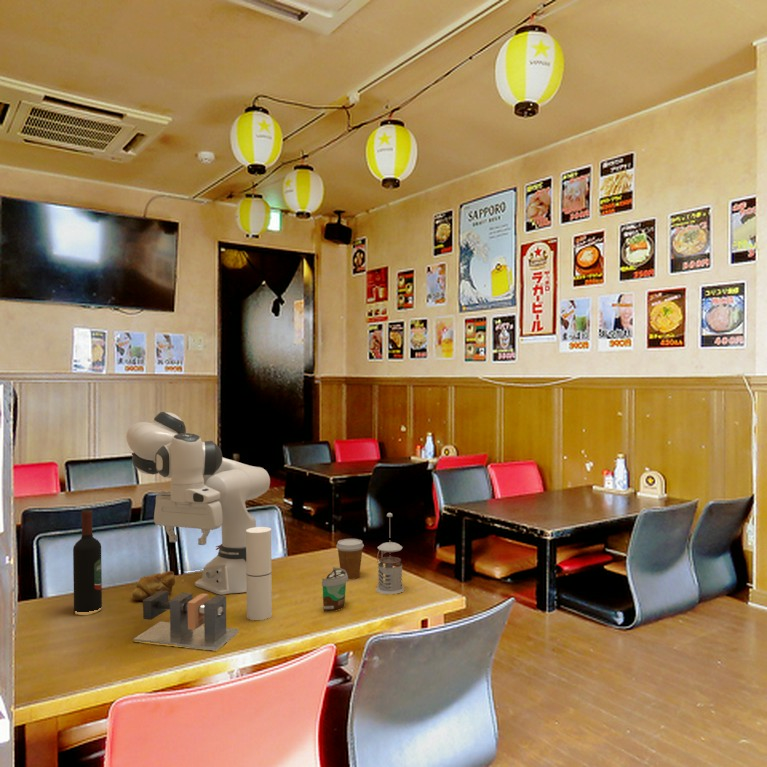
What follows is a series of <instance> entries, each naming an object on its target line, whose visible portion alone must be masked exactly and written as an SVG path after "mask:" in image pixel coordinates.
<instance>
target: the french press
mask: <svg viewBox="0 0 767 767" xmlns="http://www.w3.org/2000/svg"><path fill="white" fill-rule="evenodd" d="M386 517H388V518H389V521H388V522H389V523H388V524H389V532H388V533H389V534H388V536H389V537H391V518H393V513H391V512H388V513H387V514H386ZM377 549H378V552H377V565H378V567H377V568H378V570H377V571H378V574H377V575H378V578H377V579H378V586H377V587H376V588H375V590H376V591H377V592H376V593H378V592H379V593H378V594H380V593H382V594H381V595H385V594H395V595H397V594H396V593H400V592H402V591H404V588H405V587H404V586H403V563H401V561H402V559H401V558H399V557H395V556H384V557H383V555H384V554H386V553H395V552H400V551H402V549H403V546H402V545H400V544H399V543H397V542H393V541H389V542H383V543H381V544H380V545H379V546H377ZM380 551H381V558H379V553H380ZM394 566H395V567H394ZM404 592H405V591H404ZM400 594H401V593H400Z"/></svg>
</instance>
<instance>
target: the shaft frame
mask: <svg viewBox="0 0 767 767" xmlns="http://www.w3.org/2000/svg"><path fill="white" fill-rule="evenodd" d="M193 595H194V594H193V593H191V592H181V593H180V594H178V595H176V596H174V597H173V598H171V599H170V600H169V602H170V610H169V622H168V621H159V622H157V623H155V624H154V625H153V626H151V627H149V628H147V630H145V631H143V632H141V633H140V634H139V635H137V636H135V637H134V638H133V639H132V641H141V642H150V643H159V644H168V645H177V646H182V647H189V648H197V649H205V650H215V651H216V650H218V649H219V648H220V647H221V646H222V647H224V646H225V645H226V644H227V643H228V642H229V641H231V640H232V639H233V638H234V637H236V636H237V635H238V634H239V630H240V629H239V628H230V627H229V628H228V627H227V596H226V595H219V594H216V595H214V596H212V597H211V598H209V600H208V601H207V602H205V603H204V624H202V625H201V626H200V627H198V628H197V629H196V630H189V629H188V612H184V611H183V605H184V604H188V602H189V601H191V600H192V599H194V598H193V597H194V596H193ZM218 607H223V613H222V614H221V615H218ZM237 633H238V634H237ZM236 634H237V635H236ZM233 636H234V637H233ZM232 637H233V638H232ZM231 638H232V639H231ZM230 639H231V640H230ZM226 642H227V643H226ZM225 643H226V644H225ZM224 644H225V645H224ZM223 645H224V646H223ZM222 647H221V648H222ZM221 648H220V649H221ZM220 649H219V650H220ZM205 650H204V651H205ZM219 650H218V651H219ZM215 651H214V652H215ZM216 652H217V651H216Z"/></svg>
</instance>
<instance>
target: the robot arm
mask: <svg viewBox="0 0 767 767" xmlns="http://www.w3.org/2000/svg"><path fill="white" fill-rule="evenodd" d="M186 429H187V427H186V425H185V422H184V421H183V420H182V419H181V418H180V416H178V415H177V414H175V413H173V412H169V411H160V412H159V413H157V415H156V416H154V418H153V421H152V422H149V421H139V422H135V423H133V424H132V425H131V426H130V427H129V428H128V430H127V432H126V437H125V438H126V442H127V445H128V446H129V448H130V450H131V451H132V452H131V456H132V458H131V461H132V462H131V463H132V465H133V466H134V467H135V468H136V470H138V471H139V472H140V473H142V474H146V475H157V474H159V475H160V476H161V477H162V478H167V479H171V480H170V491H160V492H159V493H158V494H157V495H156V496H155V507H154V515H153V522H154V524H155V525H156V526H161V527H162V526H163V527H165V532H166V533H167V535H168V539H169V543H177V542H178V538H179V537H178V534H176V533H175V530H174V529H175V528H185V529H186V528H187V529H198V530H200V531H201V537H199V538H198V539H197V545H198V546H205V545H207V538H208V537H209V534H210V532H211V531H213V530H214V531H215V530H217V529H219V528H220V527H221V543H220V545H216V546H215V550H216V551H217V550H218V552H217V555H216V556H215V557H213V559H211V560H210V561H209V562H207V563H206V564H205V565H204V567H203V568H202V575H201V576H202V577H201V578H199V579H198V580H196V581H195V582H194V586H195V587H197V588H200V589H203V590H205V591H209V592H211V593H213V594H216V595H218V596H223V595H227V594H228V595H229V594H238V593H247V578H246V530H247V529H249V528H254V527H257V521H256V518H255V516H253V515H252V514H250V513H249V512H248V510H247V506H246V501H250V500H254V499H258V498H259V497H261V496H262V495H264V494H265V493H267V492H268V490H270V486H271V485H270V484H271V477H270V475H269V473H268V471H267V469H264V467H261V466H253V465H249V464H246V463H242V462H239V461H237V460H233V459H229V458H226V457H223V453H222V450H221V448H220V447H219V446H218V444H217V443H216V442H215V441H213V440H207V441H202V438H201V437H200V435H198V434H195V433H189V432H187V430H186Z"/></svg>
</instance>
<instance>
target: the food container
mask: <svg viewBox="0 0 767 767" xmlns="http://www.w3.org/2000/svg"><path fill="white" fill-rule="evenodd" d="M321 579H322V581H321V587H322V604H323V605H322V606H323V612H325V611H326V612H327V613H328V612H336V610H337V611H339V609H340V610H342V609H343V608H344V607H345V606H344V605H345V604H346V587H347V586H346V585H347V582H348V581H349V579H348V575H347V573H346V571H345V570H344V569H341V568H340V567H332V571H331V572H329V574H328V575H327V576H326V577H325V578H321ZM341 608H342V609H341Z"/></svg>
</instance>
